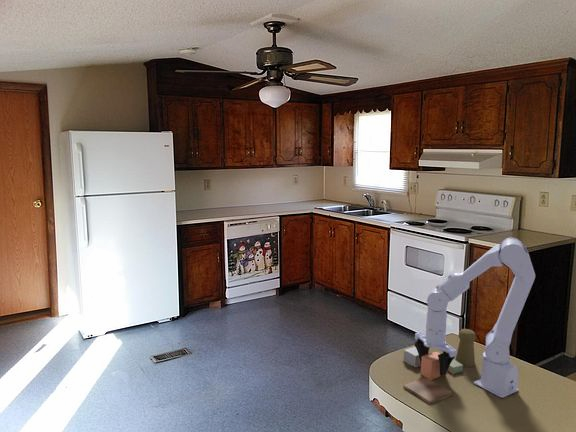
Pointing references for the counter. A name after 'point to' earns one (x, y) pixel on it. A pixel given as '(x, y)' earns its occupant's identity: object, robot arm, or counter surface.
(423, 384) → the walnut board
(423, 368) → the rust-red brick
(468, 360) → the cork
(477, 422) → the counter surface
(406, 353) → the white square brick
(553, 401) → the counter surface
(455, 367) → the flat olive brick
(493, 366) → the robot arm
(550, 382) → the counter surface
